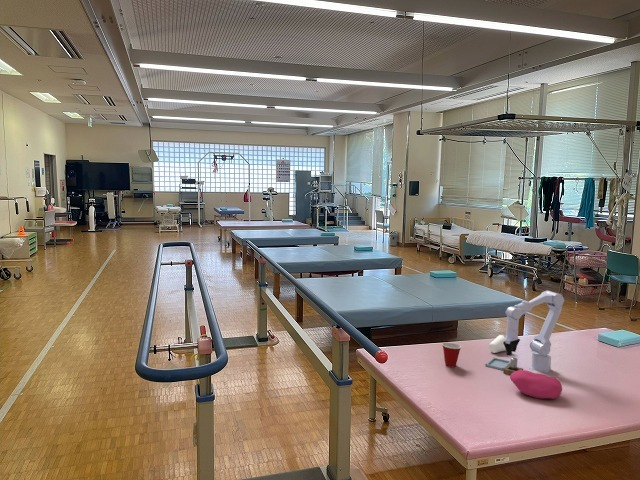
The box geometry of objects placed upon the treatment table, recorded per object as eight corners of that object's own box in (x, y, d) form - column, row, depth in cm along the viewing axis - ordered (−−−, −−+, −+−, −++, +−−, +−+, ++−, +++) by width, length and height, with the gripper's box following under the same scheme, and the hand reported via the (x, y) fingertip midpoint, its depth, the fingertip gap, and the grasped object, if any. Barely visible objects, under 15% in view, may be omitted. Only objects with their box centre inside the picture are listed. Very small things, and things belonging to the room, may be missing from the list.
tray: (511, 364, 266) (511, 361, 266) (503, 371, 255) (503, 368, 255) (493, 360, 272) (493, 357, 272) (485, 366, 261) (485, 364, 261)
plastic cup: (465, 366, 262) (466, 345, 261) (452, 370, 256) (453, 349, 254) (449, 360, 271) (450, 340, 269) (437, 364, 264) (437, 343, 263)
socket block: (522, 373, 253) (523, 368, 252) (518, 377, 246) (519, 372, 246) (507, 369, 258) (508, 364, 257) (503, 374, 251) (503, 369, 251)
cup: (501, 349, 277) (513, 343, 283) (489, 337, 283) (500, 331, 289) (495, 359, 283) (506, 353, 289) (482, 347, 289) (494, 341, 295)
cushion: (503, 388, 231) (506, 369, 229) (521, 379, 243) (524, 362, 241) (550, 409, 214) (554, 389, 212) (566, 399, 226) (570, 380, 224)
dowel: (517, 372, 252) (518, 358, 251) (515, 374, 249) (516, 360, 249) (510, 371, 254) (511, 356, 253) (509, 372, 252) (509, 358, 251)
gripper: (509, 324, 260) (507, 348, 262) (500, 330, 249) (499, 355, 250) (522, 327, 256) (520, 351, 257) (514, 333, 245) (512, 358, 246)
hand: (511, 353), depth 254 cm, fingers open, 7 cm apart
